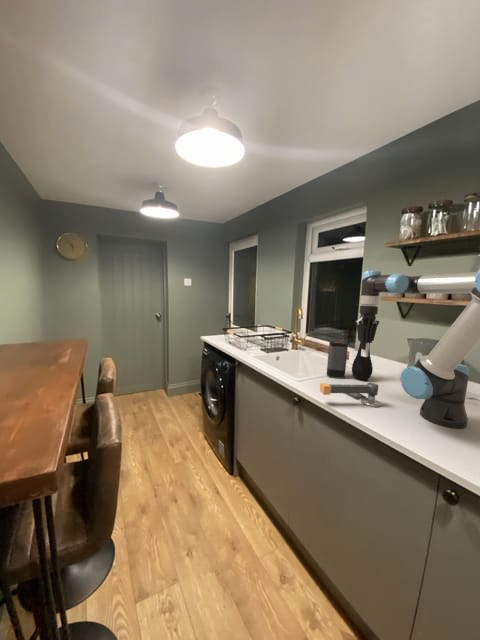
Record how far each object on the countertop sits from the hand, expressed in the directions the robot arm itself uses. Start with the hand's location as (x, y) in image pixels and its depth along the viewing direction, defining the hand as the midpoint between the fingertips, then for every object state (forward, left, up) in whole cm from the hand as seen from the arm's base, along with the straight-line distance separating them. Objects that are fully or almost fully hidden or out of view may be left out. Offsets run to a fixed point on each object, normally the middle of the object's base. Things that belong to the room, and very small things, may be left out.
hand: (364, 356), depth 126 cm
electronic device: (+25, -8, -19) cm, 33 cm away
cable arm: (-6, +13, -14) cm, 20 cm away
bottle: (+18, -20, -19) cm, 33 cm away
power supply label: (0, +3, -19) cm, 19 cm away
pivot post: (-9, +3, -19) cm, 21 cm away
